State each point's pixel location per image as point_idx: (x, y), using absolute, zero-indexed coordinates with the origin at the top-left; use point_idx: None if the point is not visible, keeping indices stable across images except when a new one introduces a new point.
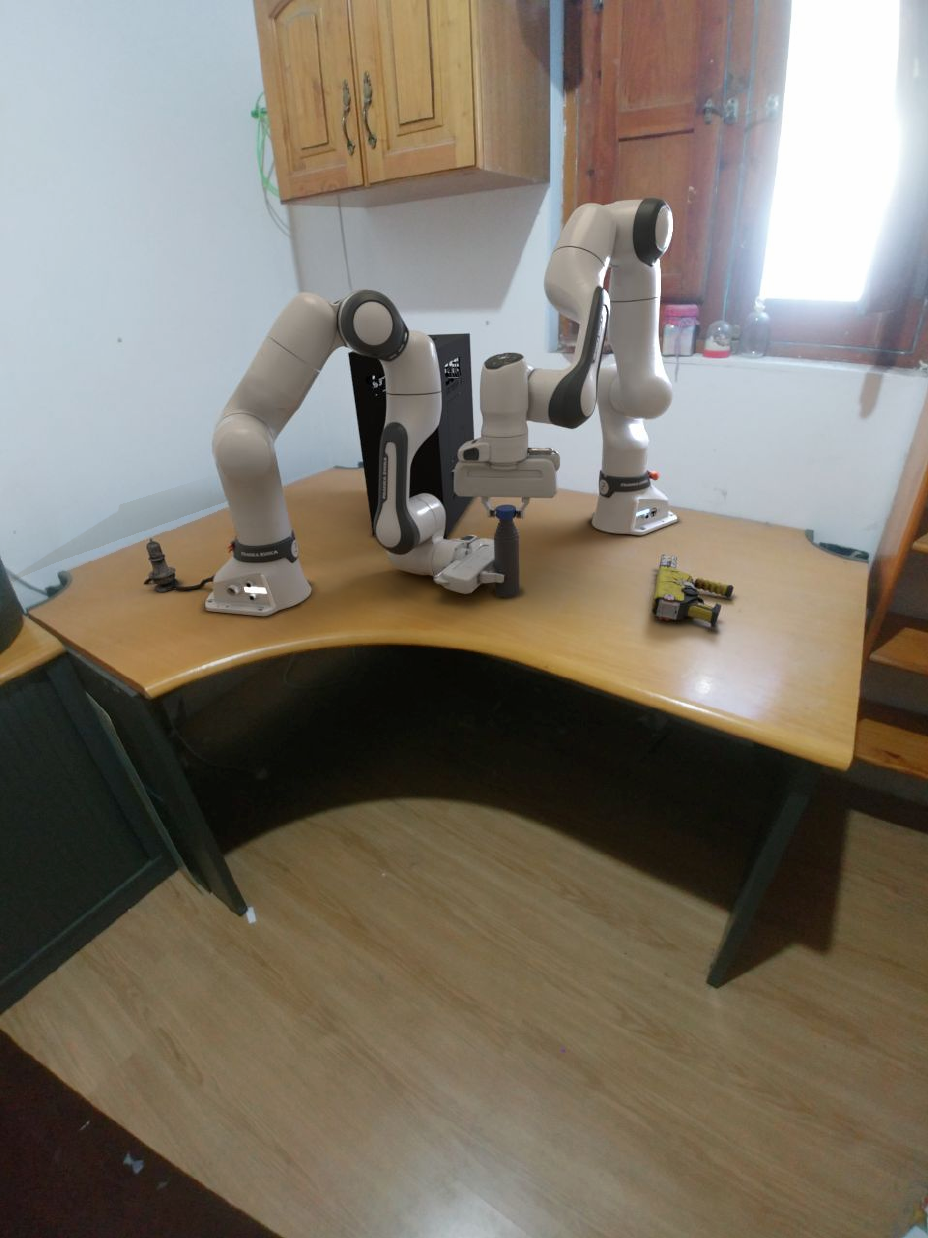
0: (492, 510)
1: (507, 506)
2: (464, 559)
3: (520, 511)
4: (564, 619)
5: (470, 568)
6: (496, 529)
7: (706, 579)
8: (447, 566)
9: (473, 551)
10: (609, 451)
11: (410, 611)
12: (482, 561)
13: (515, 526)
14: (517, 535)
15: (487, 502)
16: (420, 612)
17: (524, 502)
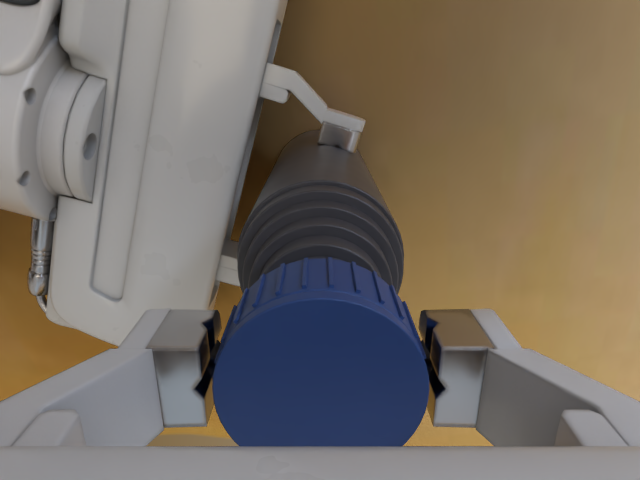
0: (187, 422)
1: (331, 357)
2: (102, 183)
3: (475, 423)
4: (515, 326)
5: (166, 277)
6: (246, 276)
7: None
8: (54, 262)
9: (112, 78)
10: None
11: (39, 334)
12: (198, 200)
13: (389, 281)
14: (398, 289)
15: (90, 445)
16: (73, 336)
17: (553, 414)
